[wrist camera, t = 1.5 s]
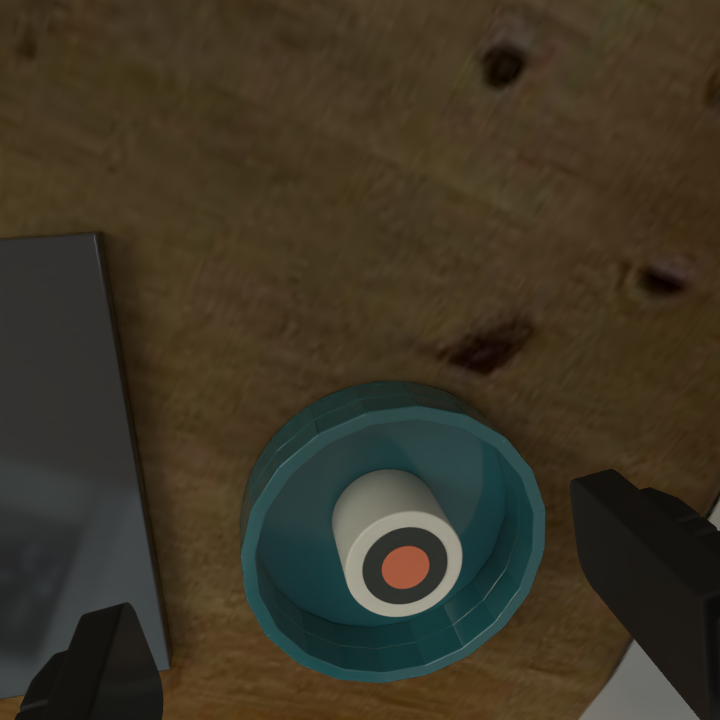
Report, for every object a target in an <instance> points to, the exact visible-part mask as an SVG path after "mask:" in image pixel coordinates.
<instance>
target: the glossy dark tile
mask: <svg viewBox="0 0 720 720" xmlns="http://www.w3.org/2000/svg"><path fill="white" fill-rule="evenodd" d="M125 602H128V603H130V604H131V605H132V606H133V608H134V610H135V612H136V614H137V617H138V619H139V622H140V624H141V627H142V630H143V632H144V635H145V638H146V640H147V643H148V645H149V648H150V651H151V653H152V656H153V658H154V661H155V664H156V666H157V669H158V672H160V671H166V670H170V669H171V664H172V657H173V654H172V648H171V642H170V636H169V630H168V624H167V618H166V612H165V606H164V601H163V595H162V589H161V583H160V577H159V571H158V565H157V559H156V553H155V547H154V542H153V536H152V530H151V524H150V518H149V512H148V506H147V500H146V494H145V488H144V482H143V477H142V471H141V465H140V459H139V453H138V447H137V441H136V435H135V429H134V423H133V417H132V412H131V406H130V400H129V394H128V388H127V382H126V376H125V370H124V364H123V358H122V353H121V347H120V341H119V335H118V329H117V323H116V317H115V311H114V305H113V299H112V293H111V288H110V282H109V276H108V270H107V264H106V258H105V252H104V246H103V240H102V234H101V232H99V231H94V232H80V233H66V234H51V235H37V236H23V237H9V238H0V699H5V698H11V697H17V696H22V695H26V692H27V690H28V688H29V685H30V683H31V681H32V679H33V678H34V677H35V676H36V675H37V674H38V672H39V671H40V670H41V669H42V668H43V667H44V665H45V664H46V663H47V662H48V661H49V660H50V658H51V657H52V656H53V655H54V654H55V653H59V652H62V651H66V650H68V648H69V645H70V642H71V640H72V637H73V635H74V632H75V630H76V627H77V624H78V622H79V620H80V618H81V616H82V615H83V614H86V613H89V612H93V611H97V610H100V609H104V608H107V607H111V606H115V605H118V604H122V603H125Z"/></svg>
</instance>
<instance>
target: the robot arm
mask: <svg viewBox="0 0 720 720" xmlns="http://www.w3.org/2000/svg"><path fill="white" fill-rule="evenodd" d="M570 498H571V505H572V513H573V521H574V529H575V537H576V544H577V552H578V557H579V560H580V564H581V567H582V569H583V572H584V574H585V576H586V578H587V580H588V582H589V583H590V585H591V586H592V588H593V589H594V590H595V591H596V593H597V594H598V595H599V596H600V598H601V599H602V600H603V601H604V602H605V604H606V605H607V606H608V607H609V609H610V610H611V611H612V612H613V613H614V615H615V616H616V617H617V618H618V620H619V621H620V622H621V623H622V624H623V626H624V627H625V628H626V629H627V631H628V632H629V633H630V634H631V635H632V637H633V638H634V639H635V640H636V642H637V643H638V644H639V645H640V646H641V648H642V649H643V650H644V651H645V652H646V654H647V655H648V656H649V657H650V659H651V660H652V661H653V662H654V664H655V665H656V666H657V667H658V669H659V670H660V671H661V672H662V673H663V675H664V676H665V677H666V678H667V680H668V681H669V682H670V683H671V684H672V686H673V687H674V688H675V689H676V690H677V692H678V693H679V694H680V695H681V697H682V698H683V699H684V700H685V701H686V703H687V704H688V705H689V706H690V708H691V709H692V710H693V711H694V713H695V714H696V715H697V716H698V717H699V719H700V720H720V531H718V530H717V528H716V527H715V526H714V525H713V524H711V523H710V522H709V521H708V520H706V519H705V518H704V517H700V516H699V513H697V512H696V511H695V510H693V509H692V508H691V507H689V506H688V505H687V504H685V503H684V502H683V501H682V500H680V499H679V498H677V497H674V496H672V495H669V494H666V493H664V492H661V491H658V490H656V489H653V488H650V487H649V488H645V489H642V490H639V489H638V488H636V487H635V486H634V485H633V484H632V483H630V482H629V481H628V480H627V479H625V478H624V477H623V476H622V475H621V474H619V473H618V472H617V471H615V470H613V469H608V470H605V471H601V472H598V473H594V474H590V475H587V476H583V477H580V478H576V479H573V480H572V481H571V483H570ZM162 714H163V690H162V683H161V679H160V675H159V672H158V669H157V666H156V664H155V661H154V658H153V656H152V653H151V651H150V648H149V645H148V643H147V640H146V638H145V635H144V632H143V630H142V627H141V624H140V622H139V619H138V617H137V614H136V612H135V610H134V608H133V606H132V605H131V604H130V603H128V602H125V603H122V604H118V605H115V606H111V607H107V608H104V609H100V610H97V611H93V612H89V613H86V614H83V615H82V616H81V618H80V620H79V622H78V624H77V627H76V630H75V632H74V635H73V637H72V640H71V642H70V645H69V648H68V650H66V651H62V652H59V653H55V654H54V655H53V656H52V657H51V658H50V660H49V661H48V662H47V663H46V664H45V665H44V667H43V668H42V669H41V670H40V671H39V672H38V674H37V675H36V676H35V677H34V678H33V679H32V681H31V683H30V685H29V688H28V690H27V692H26V695H25V697H24V699H23V701H22V704H21V706H20V713H17V715H16V717H15V720H162Z"/></svg>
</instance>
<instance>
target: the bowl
mask: <svg viewBox="0 0 720 720" xmlns="http://www.w3.org/2000/svg"><path fill="white" fill-rule="evenodd" d="M382 469H396V470H402V471H405V472H409V473H411V474H413V475H415V476H417V477H418V478H420V479H421V480H422V481H423V482H424V483H425V484H426V485H427V486H428V487H429V489H430V491H431V492H432V494H433V496H434V497H435V499H436V501H437V502H438V504H439V506H440V507H441V509H442V511H443V512H444V514H445V516H446V517H447V519H448V521H449V522H450V524H451V526H452V527H453V529H454V530H455V532H456V534H457V535H458V538H459V540H460V543H461V547H462V555H463V556H462V566H461V570H460V573H459V576H458V578H457V580H456V582H455V584H454V586H453V587H452V589H451V590H450V591H449V592H448V594H447V595H446V596H445V597H444V598H443V599H442V600H440V601H439V602H438V603H436V604H435V605H434V606H432V607H430V608H429V609H426V610H424V611H422V612H420V613H417V614H413V615H409V616H402V617H390V616H383V615H379V614H376V613H374V612H371V611H370V610H368V609H366V608H365V607H363V606H362V605H361V604H359V603H358V602H357V601H356V599H355V598H354V597H353V596H352V594H351V592H350V590H349V588H348V586H347V583H346V579H345V575H344V572H343V568H342V564H341V560H340V557H339V553H338V549H337V545H336V542H335V538H334V534H333V530H332V515H333V511H334V507H335V505H336V502H337V500H338V499H339V497H340V495H341V494H342V493H343V491H344V490H345V489H346V488H347V487H348V486H349V485H350V484H351V483H352V482H354V481H355V480H356V479H358V478H359V477H361V476H363V475H365V474H367V473H370V472H373V471H377V470H382ZM545 514H546V511H545V506H544V503H543V500H542V497H541V494H540V491H539V488H538V485H537V482H536V478H535V475H534V472H533V471H532V469H531V467H530V466H529V465H528V464H527V462H526V461H525V460H524V459H523V458H522V456H521V455H520V454H519V453H518V451H517V450H516V449H515V448H514V447H513V445H512V444H511V443H510V442H509V440H508V439H507V438H506V437H505V436H504V435H503V434H502V433H501V432H500V431H499V430H498V429H497V428H496V427H495V426H494V425H493V424H492V423H491V422H490V421H489V420H488V419H487V418H486V417H485V416H484V415H483V414H482V413H481V412H480V411H478V410H476V409H475V408H473V407H471V406H470V405H469V404H467V403H466V402H465V401H463V400H461V399H460V398H458V397H456V396H454V395H452V394H450V393H448V392H446V391H443V390H440V389H438V388H435V387H432V386H428V385H423V384H419V383H414V382H403V381H382V382H372V383H366V384H361V385H356V386H353V387H349V388H346V389H343V390H340V391H337V392H335V393H333V394H330V395H328V396H326V397H324V398H321V399H320V400H318V401H316V402H315V403H313V404H311V405H310V406H308V407H306V408H305V409H303V410H302V411H301V412H299V413H298V414H297V415H295V416H294V417H293V418H292V419H290V420H289V421H288V422H287V423H286V424H285V425H284V426H283V427H282V428H281V429H280V430H279V431H278V432H277V433H276V434H275V435H274V437H273V438H272V439H271V440H270V442H269V443H268V444H267V446H266V447H265V448H264V450H263V451H262V453H261V455H260V457H259V458H258V460H257V462H256V464H255V465H254V468H253V470H252V473H251V475H250V477H249V480H248V482H247V486H246V490H245V494H244V498H243V506H242V511H241V515H240V557H241V565H242V573H243V581H244V589H245V597H246V600H247V602H248V604H249V606H250V608H251V609H252V611H253V613H254V615H255V617H256V618H257V620H258V622H259V624H260V626H261V628H262V629H263V631H264V633H265V635H266V636H267V637H268V638H269V639H270V640H271V641H272V642H274V643H275V644H276V645H277V646H278V647H279V648H281V649H282V650H283V651H284V652H285V653H286V654H288V655H289V656H290V657H291V658H292V659H293V660H295V661H296V662H297V663H299V664H300V665H302V666H305V667H307V668H310V669H312V670H315V671H317V672H320V673H323V674H325V675H328V676H330V677H333V678H335V679H340V680H349V681H361V682H373V683H387V682H392V681H398V680H403V679H408V678H414V677H419V676H424V675H427V674H431V673H433V672H435V671H437V670H439V669H441V668H443V667H446V666H448V665H450V664H452V663H454V662H456V661H459V660H461V659H463V658H465V657H467V656H468V655H470V654H472V653H473V652H474V651H475V650H476V649H478V648H479V647H480V646H481V645H483V644H484V643H485V642H486V641H488V640H489V639H490V638H491V637H492V636H494V635H495V634H496V633H497V632H499V631H500V630H501V629H502V628H503V627H505V625H506V624H507V623H508V621H509V620H510V618H511V617H512V616H513V614H514V613H515V612H516V610H517V609H518V607H519V606H520V605H521V603H522V602H523V601H524V599H525V598H526V596H527V595H528V594H529V591H530V590H531V587H532V584H533V581H534V579H535V576H536V573H537V570H538V568H539V565H540V562H541V559H542V557H543V554H544V546H545Z"/></svg>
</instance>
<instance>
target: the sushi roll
mask: <svg viewBox="0 0 720 720" xmlns="http://www.w3.org/2000/svg"><path fill="white" fill-rule="evenodd" d="M332 530H333V534H334V538H335V542H336V545H337V549H338V553H339V557H340V560H341V564H342V568H343V572H344V575H345V579H346V583H347V586H348V588H349V590H350V592H351V594H352V596H353V597H354V598H355V599H356V601H357V602H358V603H359V604H361V605H362V606H363V607H365V608H366V609H368V610H370V611H371V612H374V613H376V614H379V615H383V616H390V617H402V616H409V615H413V614H417V613H420V612H422V611H424V610H426V609H429V608H430V607H432V606H434V605H435V604H436V603H438V602H439V601H440V600H442V599H443V598H444V597H445V596H446V595H447V594H448V592H449V591H450V590H451V589H452V587H453V586H454V584H455V582H456V580H457V578H458V576H459V573H460V570H461V566H462V556H463V555H462V547H461V543H460V540H459V538H458V535H457V534H456V532H455V530H454V529H453V527H452V526H451V524H450V522H449V521H448V519H447V517H446V516H445V514H444V512H443V511H442V509H441V507H440V506H439V504H438V502H437V501H436V499H435V497H434V496H433V494H432V492H431V491H430V489H429V487H428V486H427V485H426V484H425V483H424V482H423V481H422V480H421V479H420V478H418V477H417V476H415V475H413V474H411V473H409V472H405V471H402V470H396V469H382V470H377V471H373V472H370V473H367V474H365V475H363V476H361V477H359V478H358V479H356V480H355V481H354V482H352V483H351V484H350V485H349V486H348V487H347V488H346V489H345V490H344V491H343V493H342V494H341V495H340V497H339V499H338V500H337V502H336V505H335V507H334V511H333V515H332Z"/></svg>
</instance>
